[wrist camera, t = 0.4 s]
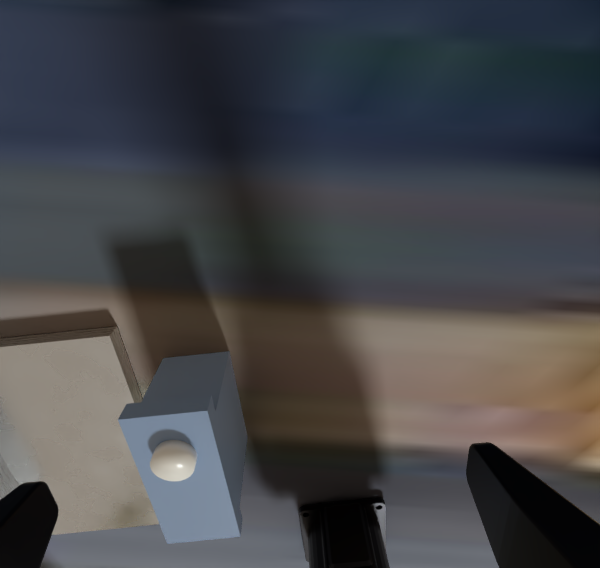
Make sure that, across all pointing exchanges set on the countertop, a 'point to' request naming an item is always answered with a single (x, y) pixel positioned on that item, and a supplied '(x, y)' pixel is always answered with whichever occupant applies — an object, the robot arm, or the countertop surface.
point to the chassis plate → (72, 427)
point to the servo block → (191, 446)
